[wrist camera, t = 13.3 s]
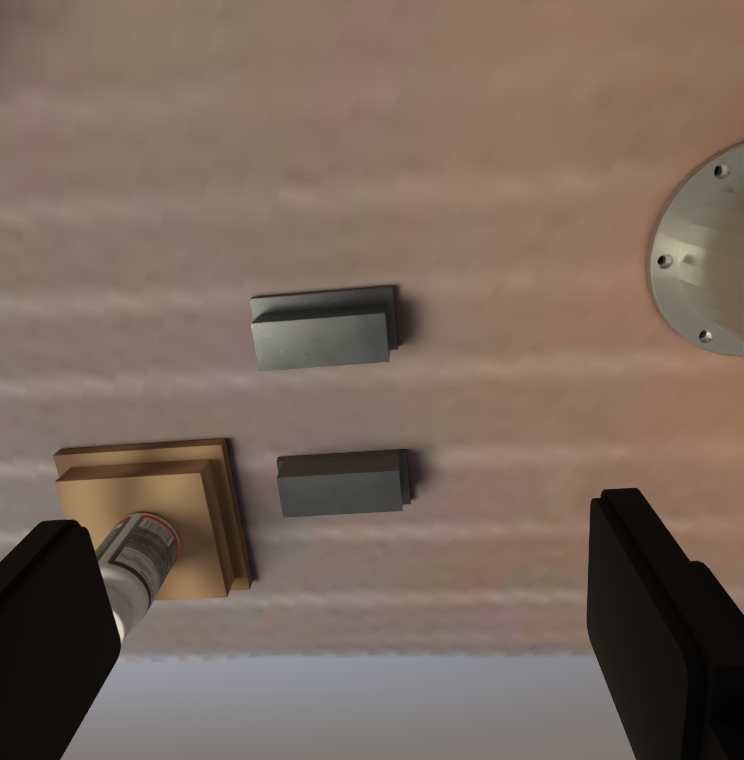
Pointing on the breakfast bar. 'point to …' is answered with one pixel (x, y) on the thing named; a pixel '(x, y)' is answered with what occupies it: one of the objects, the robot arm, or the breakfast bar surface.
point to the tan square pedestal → (164, 506)
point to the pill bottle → (136, 565)
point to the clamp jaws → (331, 348)
